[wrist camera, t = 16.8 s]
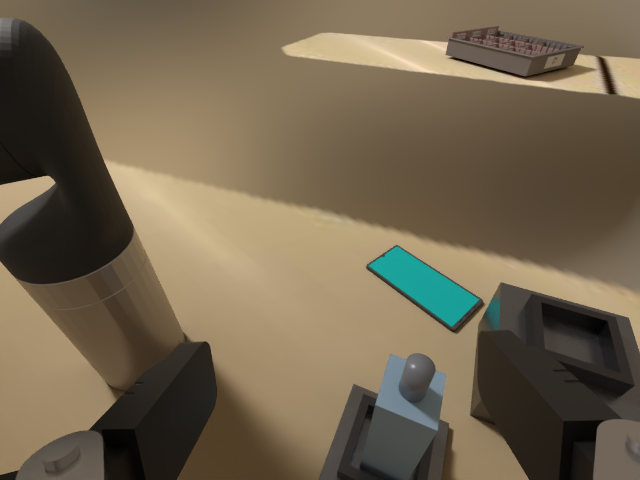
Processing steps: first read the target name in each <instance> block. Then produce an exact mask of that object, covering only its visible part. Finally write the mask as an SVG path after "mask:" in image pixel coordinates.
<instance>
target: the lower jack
mask: <svg viewBox="0 0 640 480" xmlns="http://www.w3.org/2000/svg"><path fill="white" fill-rule="evenodd" d="M377 397H378V394H377V393H374V392H372V391H369V390H367V389H364V388H362V387H360V386H357V385H355V384H354V385H353V387H352V390H351V393H350V396H349V398H348V401H347V404H346V406H345V409H344V412H343V415H342V417H341V420H340V423H339V426H338V428H337V431H336V434H335V436H334V439H333V442H332V445H331V447H330V450H329V453H328V456H327V458H326V461H325V464H324V466H323V469H322V472H321V475H320V477H319V480H387V479H384V478H382V477H380V476H378V475H376V474H374V473H372V472H370V471H368V470H366V469H364V468H362V467H360V464H361V460H362V456H363V452H364V448H365V444H366V440H367V436H368V432H369V428H370V424H371V420H372V416H373V412H374V408H375V404H376V401H377ZM448 427H449V423H447V422H444V421H442V420H440V419H439V425H438V431H437V433H436V434H435V436H434V438H433V439H432V441H431V443H430V444H429V446H428V448H427V449H426V451H425V453H424V454H423V456H422V458H421V459H420V461H419V463H418V464H417V466H416V468H415V469H414V471H413V473H412V474H411V476H410V478H409V479H408V480H441V479H442V472H443V464H444V457H445V450H446V442H447V435H448Z"/></svg>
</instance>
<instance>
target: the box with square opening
mask: <svg viewBox="0 0 640 480" xmlns="http://www.w3.org/2000/svg"><path fill="white" fill-rule="evenodd" d="M488 330H511V331H512V332H513V333H514V334H515V335H516V336H517V337H518V338H519V339H521V340H522V341H523V342H524V343H525V344H526V345H527V346H528V347H535V348H537V349H539V350H541V351H543V352H545V353H547V354H548V355H550V356H552V357H554V358H555V359H556V360H557V361H558V362H559V363H560V364H562V365H563V366H564V367H565V368H566V369H567V371H568V372H571V373H572V374H573V375H574V376H575V377H576V378H577V379H578V380H579V382H580V383H583V384H584V385H585V386H586V387H587V388H589V389H590V390H591V391H592V392H593V393H594V394H595V395H596V396H598V397H599V398H600V399H601V400H602V401H603V402H604V403H605V404H607V405H608V406H609V407H610V408H611V409H612V410H613V411H614V412H616V413H617V414H618V415H619V416H620V417H621V418H622V419H624V420H631V421H636V422H640V352H639V349H638V346H637V343H636V340H635V336H634V333H633V330H632V327H631V324H630V320H629V318H627V317H624V316H620V315H617V314H613V313H609V312H606V311H602V310H599V309H595V308H591V307H588V306H584V305H581V304H577V303H573V302H570V301H566V300H563V299H559V298H555V297H552V296H548V295H545V294H541V293H537V292H534V291H530V290H527V289H523V288H519V287H516V286H512V285H509V284H505V283H500V285H499V287H498V289H497V290H496V292H495V294H494V296H493V298H492V300H491V302H490V304H489V306H488V308H487V309H486V311H485V313H484V315H483V317H482V319H481V321H480V323H479V326H478V337H479V333H480V332H481V331H488ZM478 337H477V347H476V358H475V369H474V380H473V391H472V401H471V412H470V415H472V416H474V417H477V418H479V419H482V420H484V421H487V422H489V423H492V424H494V425H496V424H495V422H494V421H493V419H492V417H491V416H490V414H489V412H488V411H487V409H486V407H485V406H484V404H483V402H482V400H481V397H480V394H479V389H478V382H477V372H478Z"/></svg>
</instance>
